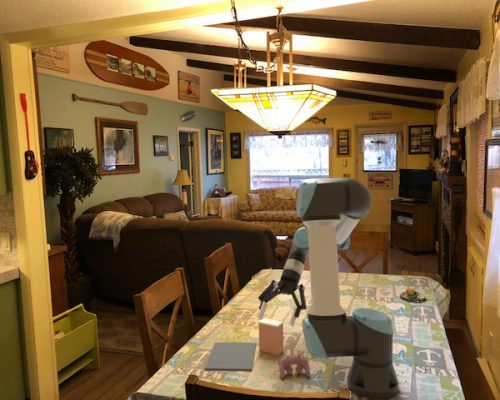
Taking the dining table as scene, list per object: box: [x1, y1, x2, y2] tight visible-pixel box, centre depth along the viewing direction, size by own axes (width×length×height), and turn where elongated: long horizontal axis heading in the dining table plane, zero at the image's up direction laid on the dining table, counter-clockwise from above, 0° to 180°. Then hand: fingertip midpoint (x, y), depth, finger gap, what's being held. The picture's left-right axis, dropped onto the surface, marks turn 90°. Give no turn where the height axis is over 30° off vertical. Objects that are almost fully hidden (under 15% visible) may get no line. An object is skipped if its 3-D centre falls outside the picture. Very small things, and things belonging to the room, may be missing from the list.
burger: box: [399, 285, 427, 303], centre depth 206 cm, size 12×12×8 cm
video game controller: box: [278, 354, 311, 380], centre depth 137 cm, size 10×5×7 cm, turn 92°
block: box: [258, 317, 285, 356], centre depth 154 cm, size 4×8×11 cm, turn 58°
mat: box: [204, 341, 257, 372], centre depth 151 cm, size 20×16×1 cm
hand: (275, 321), depth 158 cm, fingers open, 13 cm apart
